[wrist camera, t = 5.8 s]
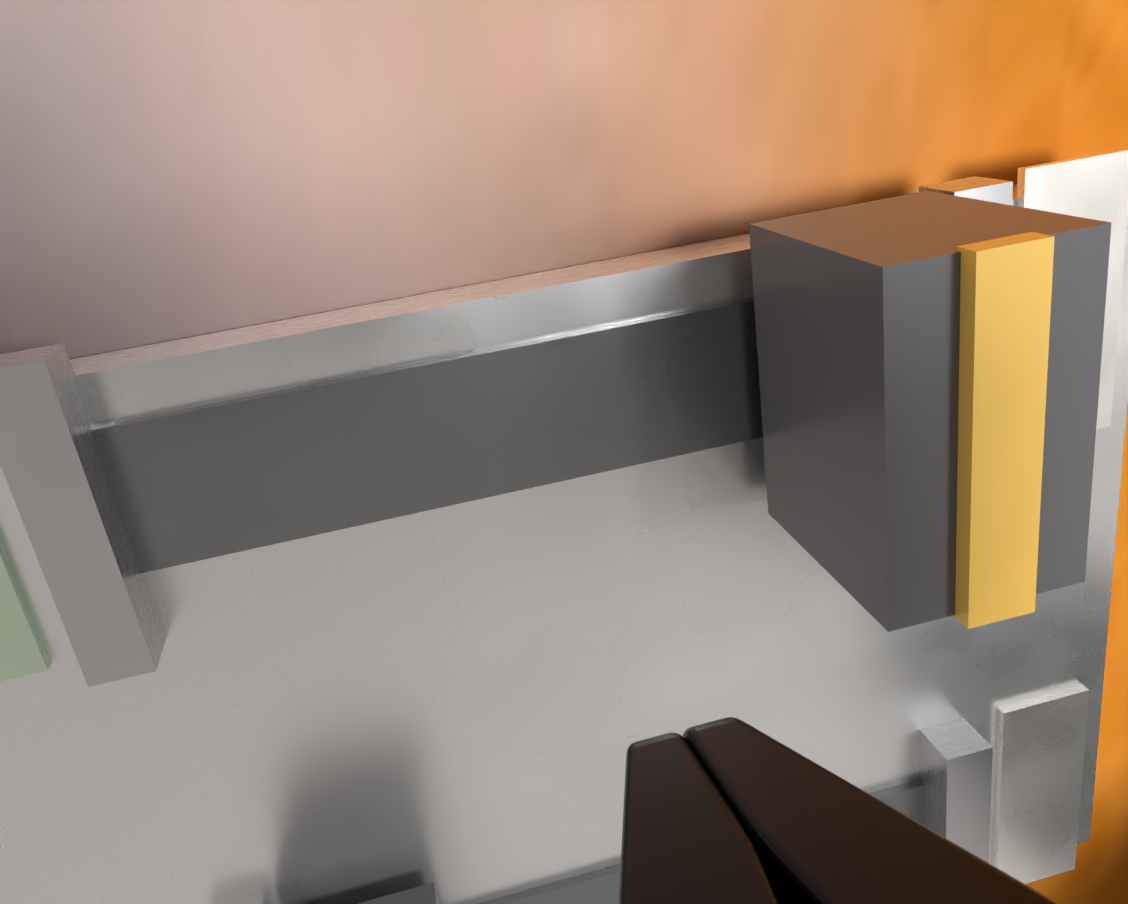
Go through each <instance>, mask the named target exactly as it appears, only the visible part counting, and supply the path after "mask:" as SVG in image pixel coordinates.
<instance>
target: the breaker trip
mask: <svg viewBox="0 0 1128 904" xmlns="http://www.w3.org/2000/svg"><path fill="white" fill-rule="evenodd" d="M1111 223H1112V222H1106V221H1100V220H1094V219H1088V218H1082V217H1076V216H1071V215H1065V214H1059V213H1053V212H1047V211H1041V210H1036V209H1030V208H1024V207H1018V206H1012V205H1006V204H1000V203H995V202H989V201H983V200H977V199H971V198H965V197H960V196H954V195H948V194H942V193H936V192H930V191H923V192H918V193H912V194H907V195H901V196H896V197H891V198H885V199H880V200H874V201H869V202H863V203H858V204H852V205H847V206H842V207H836V208H831V209H825V210H820V211H814V212H809V213H804V214H798V215H793V216H787V217H782V218H776V219H771V220H766V221H760V222H755V223H749V234H750V249H751V264H752V279H753V293H754V308H755V323H756V338H757V353H758V368H759V383H760V398H761V413H762V428H763V443H764V458H765V473H766V488H767V503H768V514H769V515H770V516H771V517H772V518H773V519H774V520H776V521H777V522H778V523H779V524H780V525H781V526H782V527H783V528H784V529H785V530H786V531H787V532H788V533H789V534H790V535H791V536H792V537H793V538H794V539H795V540H796V541H797V542H798V543H799V544H800V545H801V546H802V547H803V548H804V549H805V550H806V551H807V552H808V553H809V554H810V555H811V556H812V557H813V558H814V559H815V560H816V561H817V562H818V563H819V564H820V565H821V566H822V567H823V568H824V569H825V570H826V571H827V572H828V573H829V574H830V575H831V576H832V577H833V578H834V579H835V580H836V581H837V582H838V583H839V584H840V585H841V586H842V587H843V588H844V589H845V590H846V591H847V592H848V593H849V594H850V595H851V596H852V597H853V598H854V599H855V600H856V601H857V602H858V603H859V604H860V605H861V606H862V607H863V608H864V609H865V610H866V611H867V612H868V613H870V614H871V615H872V616H873V617H874V618H875V619H876V620H877V621H878V622H879V623H880V624H881V625H882V626H883V627H884V628H885V629H886V630H887V631H888V632H890V631H894V630H898V629H902V628H906V627H910V626H914V625H917V624H921V623H925V622H929V621H933V620H937V619H941V618H945V617H949V616H953V617H955V618H956V619H957V620H958V621H959V622H960V623H962V624H963V625H964V626H965V627H966V628H967V629H971V628H975V627H978V626H982V625H986V624H990V623H994V622H998V621H1002V620H1005V619H1009V618H1013V617H1017V616H1021V615H1025V614H1029V613H1033V612H1035V600H1036V594H1039V593H1042V592H1046V591H1050V590H1054V589H1058V588H1062V587H1066V586H1070V585H1074V584H1078V583H1082V582H1085V573H1086V560H1087V546H1088V533H1089V519H1090V506H1091V492H1092V479H1093V466H1094V452H1095V439H1096V425H1097V412H1098V398H1099V385H1100V371H1101V358H1102V344H1103V331H1104V318H1105V304H1106V291H1107V277H1108V264H1109V250H1110V237H1111Z"/></svg>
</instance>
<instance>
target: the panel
mask: <svg viewBox="0 0 1128 904" xmlns="http://www.w3.org/2000/svg"><path fill="white" fill-rule="evenodd" d="M923 191H930V192H936V193H942V194H948V195H954V196H960V197H965V198H971V199H977V200H983V201H989V202H995V203H1000V204H1006V205H1012V206H1018V207H1024V208H1030V209H1036V210H1041V211H1047V212H1053V213H1059V214H1065V215H1071V216H1076V217H1082V218H1088V219H1094V220H1100V221H1106V222H1112V223H1111V237H1110V250H1109V264H1108V277H1107V291H1106V304H1105V318H1104V331H1103V344H1102V358H1101V371H1100V385H1099V398H1098V412H1097V425H1096V439H1095V452H1094V466H1093V479H1092V492H1091V506H1090V519H1089V533H1088V546H1087V560H1086V573H1085V582H1082V583H1078V584H1074V585H1070V586H1066V587H1062V588H1058V589H1054V590H1050V591H1046V592H1042V593H1039V594H1036V600H1035V612H1033V613H1029V614H1025V615H1021V616H1017V617H1013V618H1009V619H1005V620H1002V621H998V622H994V623H990V624H986V625H982V626H978V627H975V628H971V629H967V628H966V627H965V626H964V625H963V624H962V623H960V622H959V621H958V620H957V619H956V618H955V617H953V616H949V617H945V618H941V619H937V620H933V621H929V622H925V623H921V624H917V625H914V626H910V627H906V628H902V629H898V630H894V631H890V632H888V631H887V630H886V629H885V628H884V627H883V626H882V625H881V624H880V623H879V622H878V621H877V620H876V619H875V618H874V617H873V616H872V615H871V614H870V613H868V612H867V611H866V610H865V609H864V608H863V607H862V606H861V605H860V604H859V603H858V602H857V601H856V600H855V599H854V598H853V597H852V596H851V595H850V594H849V593H848V592H847V591H846V590H845V589H844V588H843V587H842V586H841V585H840V584H839V583H838V582H837V581H836V580H835V579H834V578H833V577H832V576H831V575H830V574H829V573H828V572H827V571H826V570H825V569H824V568H823V567H822V566H821V565H820V564H819V563H818V562H817V561H816V560H815V559H814V558H813V557H812V556H811V555H810V554H809V553H808V552H807V551H806V550H805V549H804V548H803V547H802V546H801V545H800V544H799V543H798V542H797V541H796V540H795V539H794V538H793V537H792V536H791V535H790V534H789V533H788V532H787V531H786V530H785V529H784V528H783V527H782V526H781V525H780V524H779V523H778V522H777V521H776V520H774V519H773V518H772V517H771V516H770V515H769V514H768V503H767V488H766V473H765V458H764V443H763V428H762V413H761V398H760V383H759V368H758V353H757V338H756V323H755V308H754V293H753V279H752V264H751V249H750V234H744V235H738V236H733V237H728V238H722V239H717V240H711V241H706V242H701V243H695V244H690V245H684V246H679V247H674V248H668V249H663V250H657V251H652V252H647V253H641V254H636V255H631V256H625V257H620V258H614V259H609V260H604V261H598V262H593V263H587V264H582V265H577V266H571V267H566V268H560V269H555V270H550V271H544V272H539V273H534V274H528V275H523V276H517V277H512V278H507V279H501V280H496V281H490V282H485V283H480V284H474V285H469V286H463V287H458V288H453V289H447V290H442V291H437V292H431V293H426V294H420V295H415V296H410V297H404V298H399V299H393V300H388V301H383V302H377V303H372V304H367V305H361V306H356V307H350V308H345V309H340V310H334V311H329V312H323V313H318V314H313V315H307V316H302V317H296V318H291V319H286V320H280V321H275V322H270V323H264V324H259V325H253V326H248V327H243V328H237V329H232V330H226V331H221V332H216V333H210V334H205V335H199V336H194V337H189V338H183V339H178V340H173V341H167V342H162V343H156V344H151V345H146V346H140V347H135V348H129V349H124V350H119V351H113V352H108V353H102V354H97V355H92V356H86V357H81V358H76V359H69V356H68V353H67V350H66V348H65V345H64V343H59V344H54V345H48V346H43V347H38V348H32V349H27V350H21V351H16V352H10V353H5V354H0V904H358V903H361V902H365V901H369V900H372V899H376V898H379V897H383V896H387V895H390V894H394V893H397V892H401V891H405V890H408V889H412V888H416V887H419V886H423V885H426V884H430V883H434V885H435V888H436V892H437V896H438V900H439V904H619V886H620V866H621V847H622V827H623V808H624V788H625V769H626V752H627V749H628V747H629V745H630V744H631V743H633V742H636V741H640V740H644V739H647V738H651V737H655V736H659V735H662V734H666V733H670V732H674V733H677V734H680V735H681V736H682V735H683V733H684V732H685V731H686V729H687V728H689V727H692V726H696V725H700V724H704V723H707V722H711V721H715V720H719V719H722V718H727V717H733V718H737V719H740V720H742V721H744V722H745V723H747V724H749V725H751V726H752V727H754V728H756V729H758V730H759V731H761V732H763V733H764V734H766V735H768V736H770V737H771V738H773V739H775V740H777V741H778V742H780V743H782V744H784V745H785V746H787V747H789V748H790V749H792V750H794V751H796V752H797V753H799V754H801V755H803V756H804V757H806V758H808V759H809V760H811V761H813V762H815V763H816V764H818V765H820V766H822V767H823V768H825V769H827V770H829V771H830V772H832V773H834V774H835V775H837V776H839V777H841V778H842V779H844V780H846V781H848V782H849V783H851V784H853V785H854V786H856V787H858V788H860V789H861V790H863V791H865V792H867V793H868V794H870V795H872V796H874V797H875V798H877V799H879V800H880V801H882V802H884V803H886V804H887V805H889V806H891V807H893V808H894V809H896V810H898V811H899V812H901V813H903V814H905V815H906V816H908V817H910V818H912V819H913V820H915V821H917V822H919V823H920V824H922V825H924V826H925V827H927V828H929V829H931V830H932V831H934V832H936V833H938V834H939V835H941V836H943V837H944V838H946V839H948V840H950V841H951V842H953V843H955V844H957V845H958V846H960V847H962V848H964V849H965V850H967V851H969V852H970V853H972V854H974V855H976V856H977V857H979V858H981V859H983V860H984V861H986V862H988V863H990V864H991V865H993V866H995V867H996V868H998V869H1000V870H1002V871H1003V872H1005V873H1007V874H1009V875H1010V876H1012V877H1014V878H1015V879H1017V880H1019V881H1021V882H1022V883H1024V884H1027V883H1030V882H1034V881H1037V880H1040V879H1043V878H1047V877H1050V876H1053V875H1057V874H1060V873H1063V872H1066V871H1070V870H1073V869H1075V863H1076V850H1077V844H1079V843H1082V842H1086V841H1089V840H1090V829H1091V818H1092V806H1093V794H1094V783H1095V771H1096V760H1097V748H1098V737H1099V725H1100V714H1101V702H1102V690H1103V679H1104V667H1105V656H1106V644H1107V633H1108V621H1109V610H1110V598H1111V586H1112V575H1113V563H1114V552H1115V540H1116V529H1117V517H1118V506H1119V494H1120V482H1121V471H1122V459H1123V448H1124V436H1125V425H1126V413H1127V402H1128V149H1120V150H1114V151H1109V152H1103V153H1098V154H1092V155H1087V156H1081V157H1076V158H1070V159H1065V160H1060V161H1054V162H1049V163H1043V164H1038V165H1032V166H1027V167H1021V168H1018V175H1017V184H1013V181H1007V180H999V179H992V178H984V177H977V176H972V177H967V178H961V179H956V180H950V181H945V182H939V183H934V184H928V185H923V186H919V192H923Z"/></svg>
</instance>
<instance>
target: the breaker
mask: <svg viewBox="0 0 1128 904" xmlns="http://www.w3.org/2000/svg"><path fill="white" fill-rule="evenodd" d="M358 904H439V900H438V896H437V892H436V888H435V885H434V883H430V884H426V885H423V886H419V887H416V888H412V889H408V890H405V891H401V892H397V893H394V894H390V895H387V896H383V897H379V898H376V899H372V900H369V901H365V902H361V903H358Z"/></svg>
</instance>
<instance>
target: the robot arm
mask: <svg viewBox="0 0 1128 904" xmlns="http://www.w3.org/2000/svg"><path fill="white" fill-rule="evenodd" d="M619 904H1059V903H1057V902H1055V901H1054V900H1052V899H1050V898H1048V897H1047V896H1045V895H1043V894H1041V893H1040V892H1038V891H1036V890H1035V889H1033V888H1031V887H1029V886H1028V885H1026V884H1024V883H1022V882H1021V881H1019V880H1017V879H1015V878H1014V877H1012V876H1010V875H1009V874H1007V873H1005V872H1003V871H1002V870H1000V869H998V868H996V867H995V866H993V865H991V864H990V863H988V862H986V861H984V860H983V859H981V858H979V857H977V856H976V855H974V854H972V853H970V852H969V851H967V850H965V849H964V848H962V847H960V846H958V845H957V844H955V843H953V842H951V841H950V840H948V839H946V838H944V837H943V836H941V835H939V834H938V833H936V832H934V831H932V830H931V829H929V828H927V827H925V826H924V825H922V824H920V823H919V822H917V821H915V820H913V819H912V818H910V817H908V816H906V815H905V814H903V813H901V812H899V811H898V810H896V809H894V808H893V807H891V806H889V805H887V804H886V803H884V802H882V801H880V800H879V799H877V798H875V797H874V796H872V795H870V794H868V793H867V792H865V791H863V790H861V789H860V788H858V787H856V786H854V785H853V784H851V783H849V782H848V781H846V780H844V779H842V778H841V777H839V776H837V775H835V774H834V773H832V772H830V771H829V770H827V769H825V768H823V767H822V766H820V765H818V764H816V763H815V762H813V761H811V760H809V759H808V758H806V757H804V756H803V755H801V754H799V753H797V752H796V751H794V750H792V749H790V748H789V747H787V746H785V745H784V744H782V743H780V742H778V741H777V740H775V739H773V738H771V737H770V736H768V735H766V734H764V733H763V732H761V731H759V730H758V729H756V728H754V727H752V726H751V725H749V724H747V723H745V722H744V721H742V720H740V719H737V718H733V717H727V718H722V719H719V720H715V721H711V722H707V723H704V724H700V725H696V726H692V727H689V728H687V729H686V731H685V732H684V733H683V735H682V736H681V735H680V734H677V733H674V732H670V733H666V734H662V735H659V736H655V737H651V738H647V739H644V740H640V741H636V742H633V743H631V744H630V745H629V747H628V749H627V752H626V769H625V788H624V808H623V827H622V847H621V866H620V886H619Z"/></svg>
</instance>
